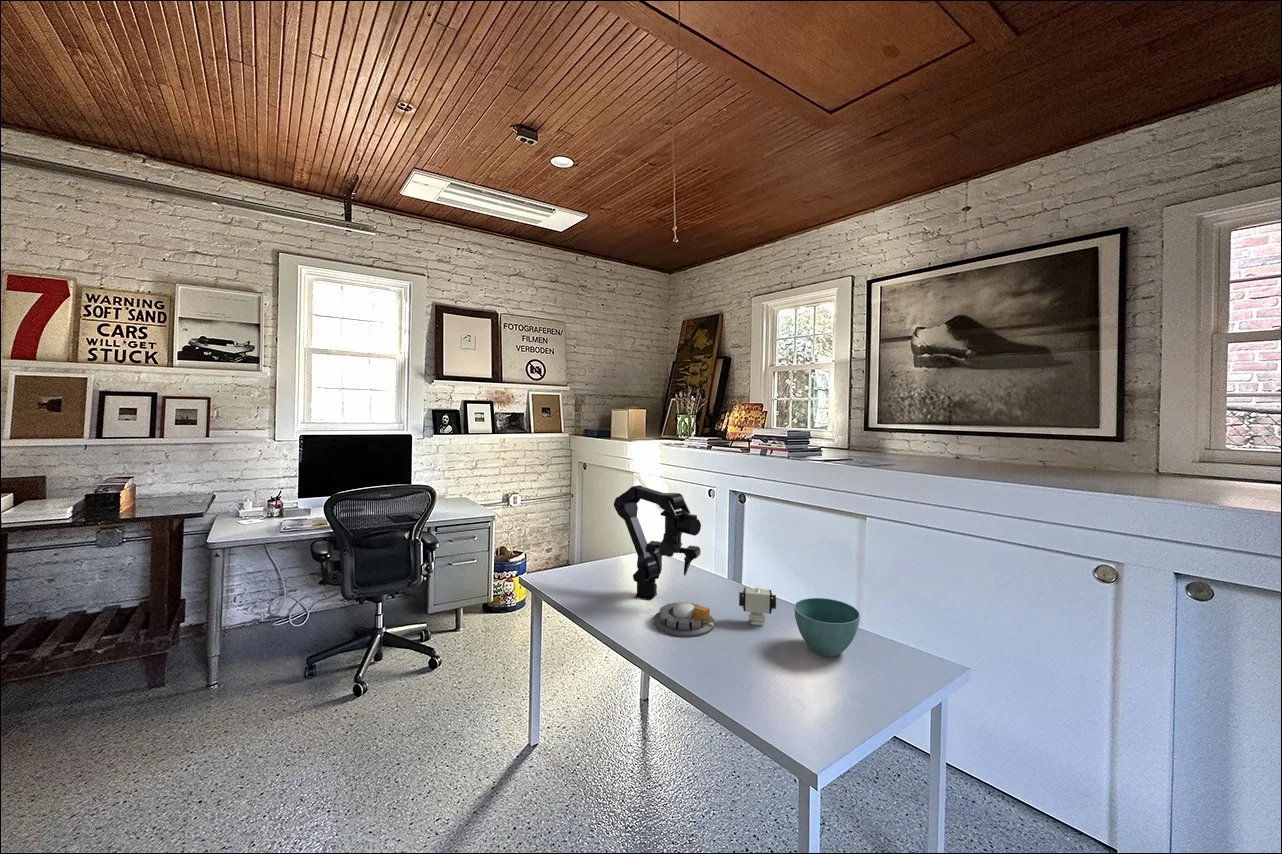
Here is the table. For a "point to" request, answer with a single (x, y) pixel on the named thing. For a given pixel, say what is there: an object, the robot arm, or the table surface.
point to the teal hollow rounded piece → (826, 624)
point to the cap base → (682, 632)
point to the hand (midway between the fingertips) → (672, 573)
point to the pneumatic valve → (757, 604)
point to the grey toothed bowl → (684, 624)
